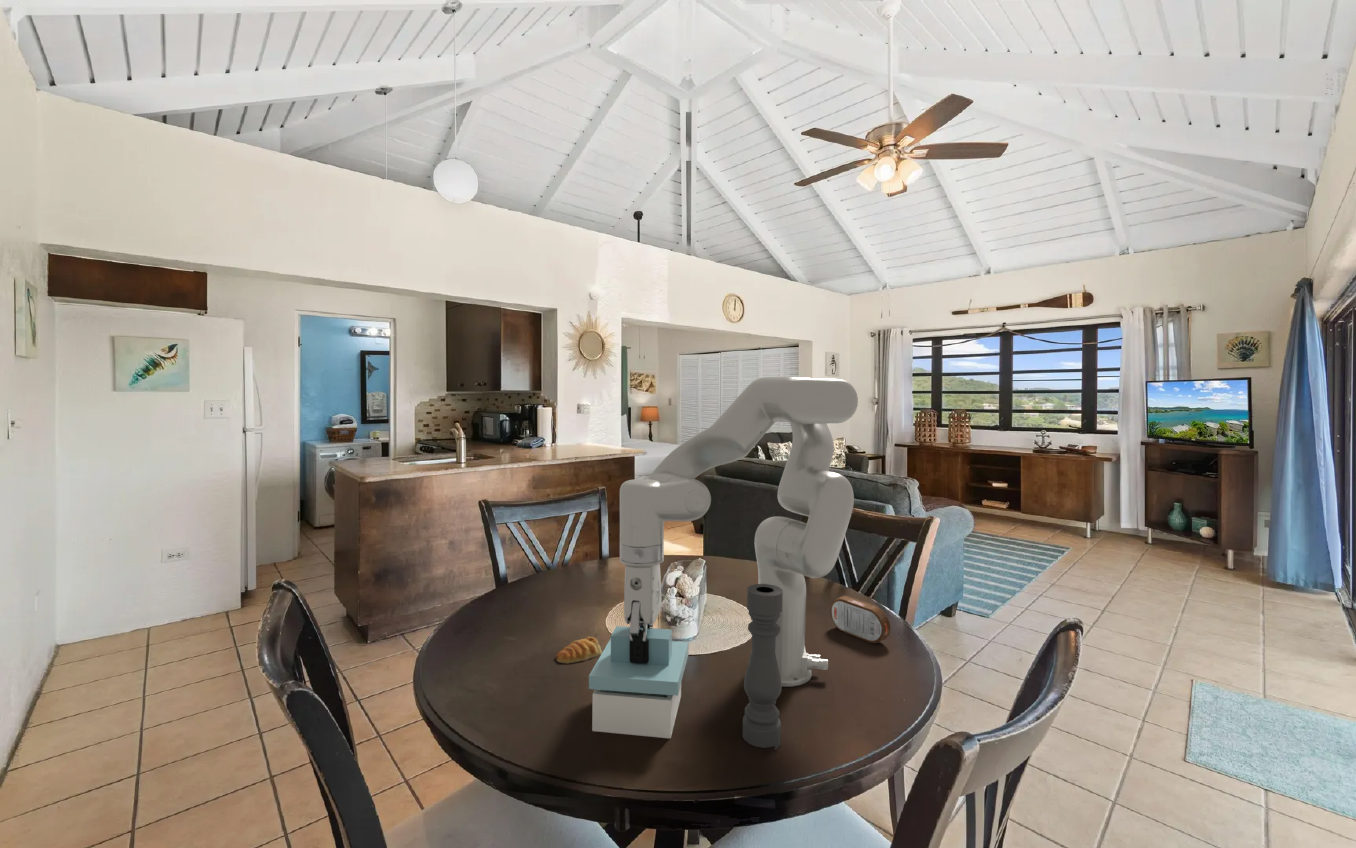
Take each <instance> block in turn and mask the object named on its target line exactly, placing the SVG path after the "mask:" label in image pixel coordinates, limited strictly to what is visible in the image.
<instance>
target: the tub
mask: <svg viewBox="0 0 1356 848" xmlns="http://www.w3.org/2000/svg"><path fill="white" fill-rule="evenodd" d="M650 695H651V694H649V693H636V692H622V691H609V690H596V689H593V692H592V705H591V706H592V711H591V712H592V713H591V714H592V715H591V716H592V720H591V721H592V723H591V724H592V726H591V729H592V732H598V733H599V732H600V733H610V734H620V735H630V736H631V735H632V736H640V737H641V736H642V737H652V738H662V739H669V740H670V739H671V738H672V734H673V730H674V727H675V721H676V717H677V714H678V709H679V706H680V703H681V698H682V685H681V686H680V690H679V693H678V696H675V695H666V696H667V698H665V697H654V696H650Z"/></svg>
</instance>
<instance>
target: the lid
mask: <svg viewBox="0 0 1356 848" xmlns="http://www.w3.org/2000/svg"><path fill="white" fill-rule="evenodd" d="M640 629H642V631H643V628H640ZM647 640H649V661H648V663H647V664H640V663H631V662H630V626H615V628H614V630H613V631H612V633H611V634H610V639H609V641H608V642H607V644H606V646H605V648H603V650H602V654H601V655H600V656H599V658H598V659H597V661H596V663H595V664H594V666H593V668H592V670H591V671H590V673H589V675H588V689H589V690H595V689H596V690H609V691H622V692H636V693H649V694H662V695H675V696H678V693H679V690H680V686H681V687H682V681H683V677H684V674H685V669H686V665H687V663H688V661H687V660H688V657H689V654H690V653H689V649H690V648H689V646H690V645H689V644H690V643H689V641H677V640H676V641H674V640H673V629H668V628H667V629H666V628H654V627H650V628H647Z"/></svg>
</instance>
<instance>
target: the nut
mask: <svg viewBox="0 0 1356 848" xmlns="http://www.w3.org/2000/svg"><path fill="white" fill-rule="evenodd" d="M650 696H654V697H665V698H667V696H666V695H662V694H651V695H650Z"/></svg>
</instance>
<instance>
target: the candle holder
mask: <svg viewBox="0 0 1356 848" xmlns="http://www.w3.org/2000/svg"><path fill="white" fill-rule="evenodd" d="M746 592H747V594H746V595H747V597H746V609H747V611H748V616H750V617H749V618H750V620H751V622H750V623H748V624H747V631H748V632H749V633H750V634H751V652H750V656H749V660H748V664H747V668H746V671H745V675H744V680H743V687H744V688H743V689H744V691H745V694H746V696H748V702H749V703H747V705H746V706H745V707H744V716H743V717H742V736H741V737H742V738H743V740H744V741H745V743H748V744H749V745H751V746H753V747H757V748H764V749H766V748H772V747H774V751H776V750H778V749H779V747H780V746H781V735H782V734H781V731H782V730H781V729H782V724H781V718H780V710H779V709H778V707H777V705H776V704H777V699H778V698H779V697H780V695H781V693H782V690H783V689H782V683H781V678H780V673H779V668H778V663H777V659H776V654H775V648H776V636H777V635H778V634H779V633H780V626H779V625H778V624H777V623H776V622H777V621H778V618H779V617H780V613H781V612H782V600H783V590H782V589H781V588H780V587H777V586H774V585H769V584H758V583H754V584H751V585H749V586H747V591H746Z"/></svg>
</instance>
